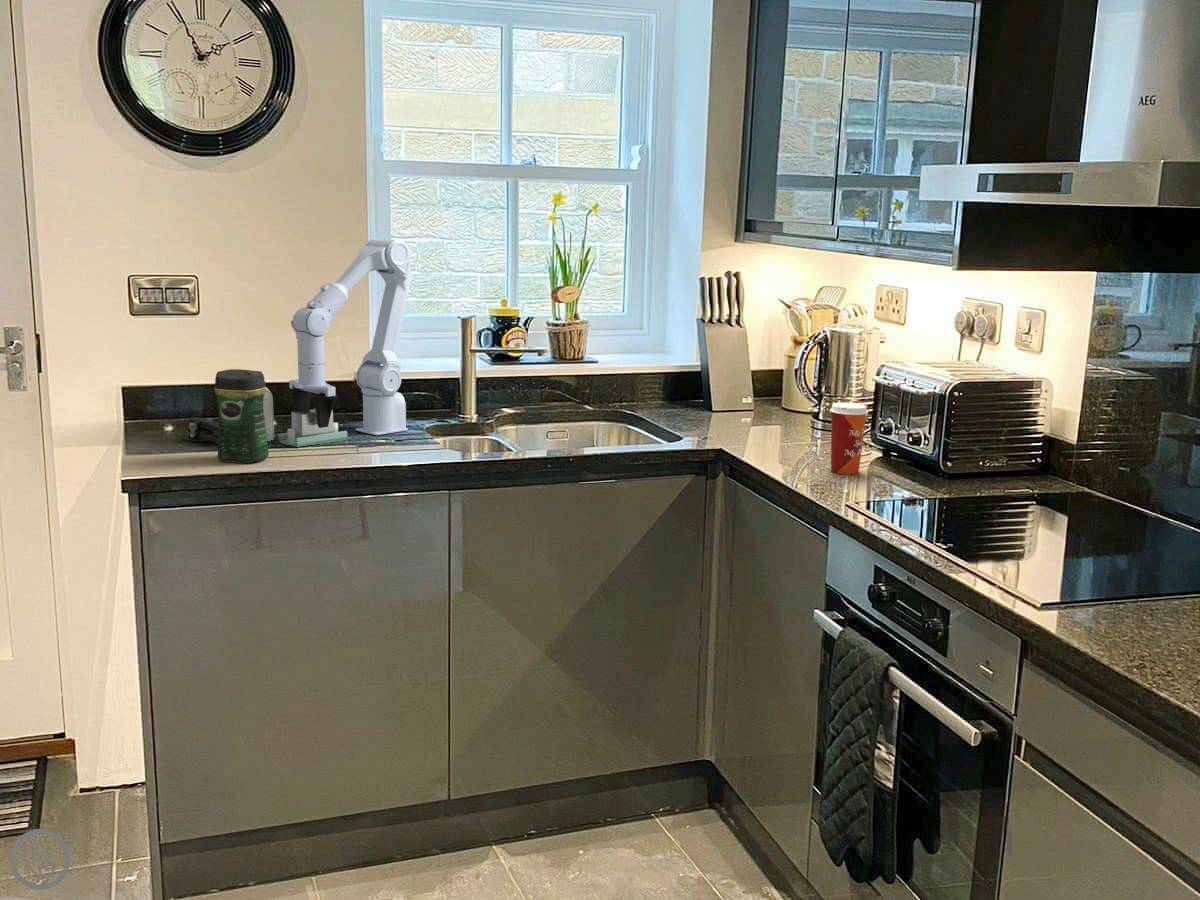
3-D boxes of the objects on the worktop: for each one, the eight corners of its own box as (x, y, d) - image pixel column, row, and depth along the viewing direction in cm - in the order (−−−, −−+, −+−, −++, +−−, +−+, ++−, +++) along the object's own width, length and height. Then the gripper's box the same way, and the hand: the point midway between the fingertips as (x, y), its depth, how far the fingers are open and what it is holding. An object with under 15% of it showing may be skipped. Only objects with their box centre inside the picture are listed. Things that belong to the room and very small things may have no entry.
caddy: (328, 435, 263) (328, 420, 263) (347, 440, 259) (347, 424, 258) (278, 443, 254) (278, 427, 253) (297, 448, 249) (297, 432, 249)
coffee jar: (274, 457, 240) (271, 368, 236) (253, 465, 232) (250, 373, 228) (233, 454, 242) (229, 365, 238) (211, 461, 235) (207, 370, 231)
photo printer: (239, 435, 261) (237, 381, 258) (257, 433, 264) (255, 379, 261) (258, 443, 253) (256, 387, 251) (277, 441, 256) (275, 385, 253)
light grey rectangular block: (322, 434, 260) (322, 407, 259) (333, 437, 258) (332, 410, 257) (292, 439, 255) (291, 411, 253) (302, 441, 252) (301, 414, 251)
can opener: (179, 441, 254) (178, 416, 253) (207, 437, 259) (205, 412, 258) (228, 453, 243) (227, 427, 242) (256, 448, 249) (255, 423, 248)
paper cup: (856, 477, 235) (861, 409, 233) (820, 472, 239) (824, 405, 237) (869, 470, 242) (874, 404, 239) (834, 465, 246) (838, 400, 243)
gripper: (276, 361, 255) (278, 422, 257) (315, 368, 245) (316, 431, 248) (304, 358, 260) (305, 418, 263) (343, 365, 250) (344, 427, 253)
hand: (313, 424), depth 256 cm, fingers open, 7 cm apart
